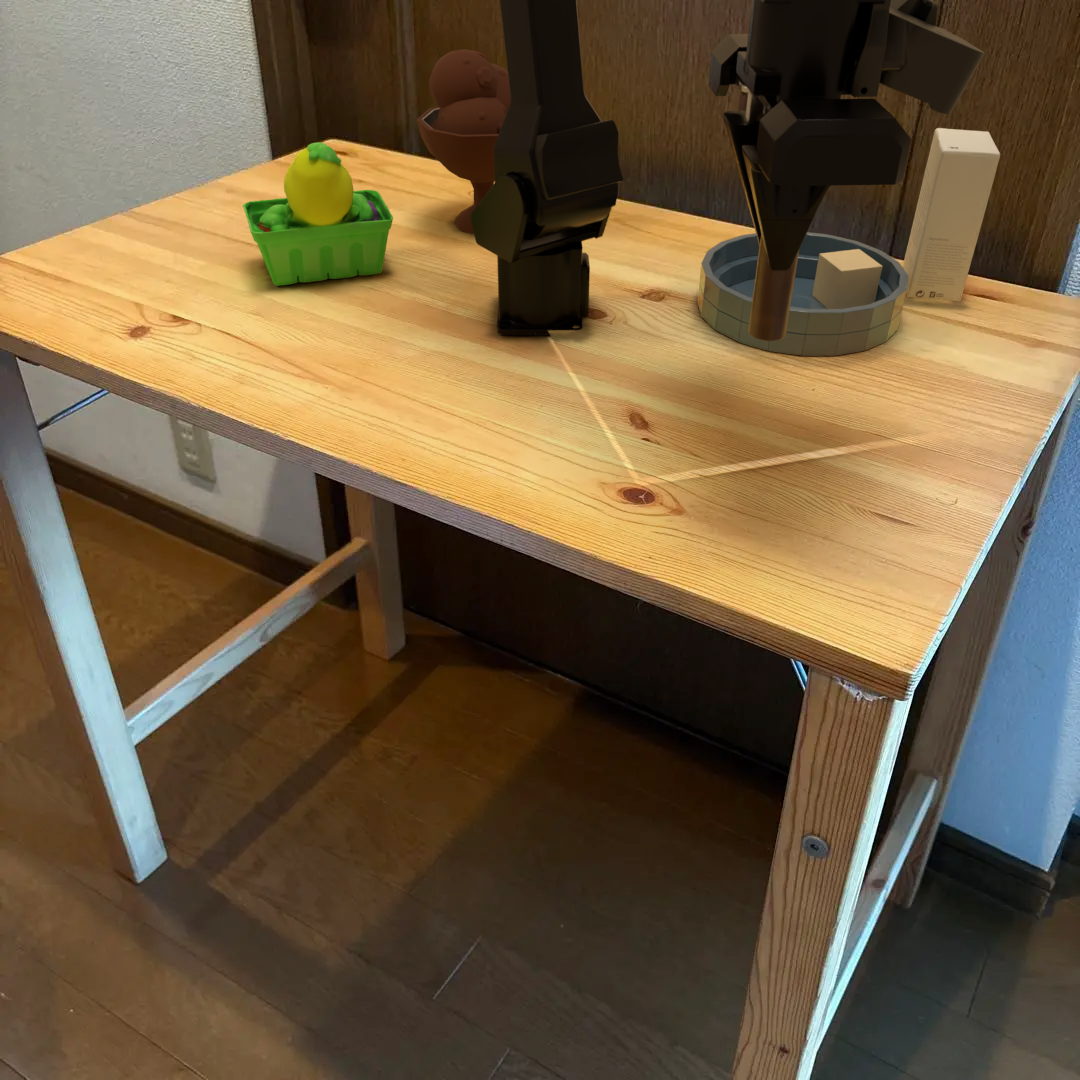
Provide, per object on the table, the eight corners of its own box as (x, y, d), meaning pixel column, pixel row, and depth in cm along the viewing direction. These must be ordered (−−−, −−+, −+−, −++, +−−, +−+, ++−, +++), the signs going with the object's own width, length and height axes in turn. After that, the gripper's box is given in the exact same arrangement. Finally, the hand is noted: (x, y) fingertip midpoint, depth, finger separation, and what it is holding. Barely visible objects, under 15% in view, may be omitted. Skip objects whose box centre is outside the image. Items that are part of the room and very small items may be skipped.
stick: (752, 341, 61) (778, 149, 54) (745, 325, 62) (769, 136, 56) (789, 341, 61) (820, 148, 54) (781, 324, 62) (810, 136, 56)
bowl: (712, 363, 75) (718, 312, 72) (686, 277, 87) (691, 231, 84) (922, 363, 75) (935, 312, 72) (867, 277, 87) (877, 230, 84)
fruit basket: (381, 244, 92) (369, 112, 85) (403, 283, 86) (391, 143, 79) (251, 260, 89) (227, 124, 83) (263, 301, 83) (238, 158, 76)
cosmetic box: (960, 308, 82) (1002, 154, 75) (905, 303, 83) (940, 150, 75) (952, 277, 87) (990, 130, 80) (899, 273, 88) (933, 126, 80)
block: (833, 314, 80) (841, 270, 78) (811, 295, 83) (819, 253, 80) (873, 308, 81) (882, 265, 78) (851, 290, 83) (859, 248, 81)
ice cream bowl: (502, 254, 90) (498, 71, 81) (401, 229, 95) (386, 53, 86) (564, 217, 98) (567, 44, 88) (467, 195, 102) (460, 29, 93)
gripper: (1071, -22, 42) (975, 331, 51) (923, -80, 57) (869, 202, 66) (798, -19, 42) (752, 335, 51) (721, -79, 57) (696, 204, 66)
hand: (775, 260), depth 59 cm, fingers closed on stick, 2 cm apart
